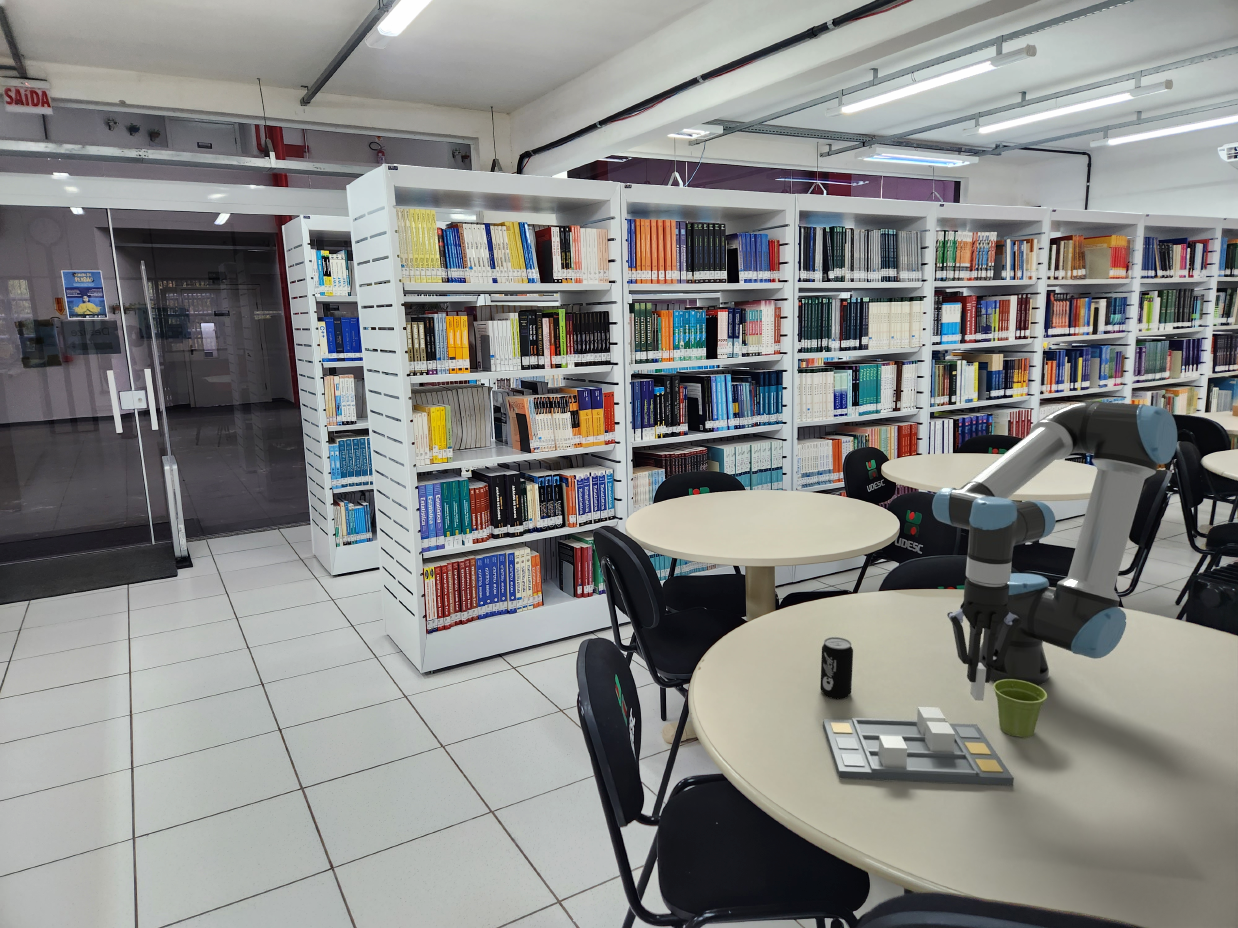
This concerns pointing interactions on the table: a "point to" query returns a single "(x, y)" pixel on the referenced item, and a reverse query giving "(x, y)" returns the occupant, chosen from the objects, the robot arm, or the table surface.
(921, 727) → the white cube
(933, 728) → the white cube
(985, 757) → the switch bank
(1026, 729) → the plant pot
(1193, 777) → the table surface
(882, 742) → the white cube
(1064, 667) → the table surface
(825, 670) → the beverage can
